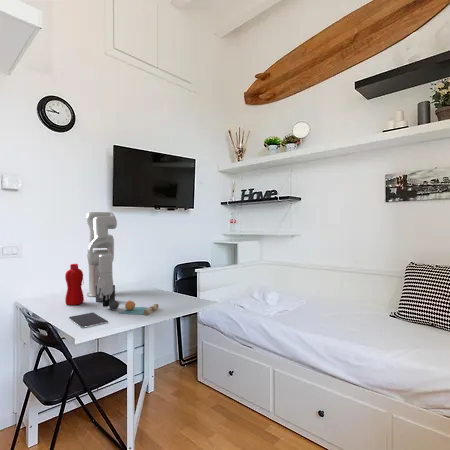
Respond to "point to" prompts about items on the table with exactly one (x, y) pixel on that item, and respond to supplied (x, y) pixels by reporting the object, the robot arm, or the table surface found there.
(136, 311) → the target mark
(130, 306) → the orange ball
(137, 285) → the table surface
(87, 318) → the notebook
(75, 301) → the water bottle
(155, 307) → the stopper strip
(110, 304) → the dark gray ball
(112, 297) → the small box
